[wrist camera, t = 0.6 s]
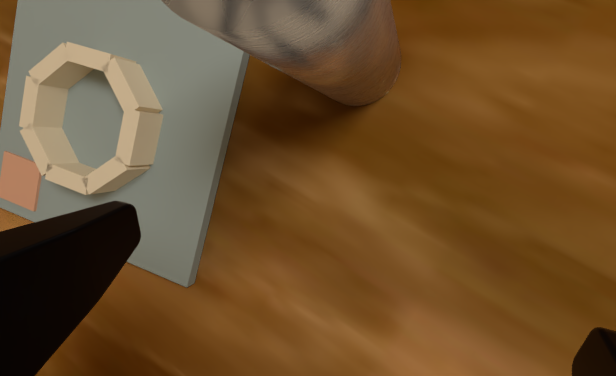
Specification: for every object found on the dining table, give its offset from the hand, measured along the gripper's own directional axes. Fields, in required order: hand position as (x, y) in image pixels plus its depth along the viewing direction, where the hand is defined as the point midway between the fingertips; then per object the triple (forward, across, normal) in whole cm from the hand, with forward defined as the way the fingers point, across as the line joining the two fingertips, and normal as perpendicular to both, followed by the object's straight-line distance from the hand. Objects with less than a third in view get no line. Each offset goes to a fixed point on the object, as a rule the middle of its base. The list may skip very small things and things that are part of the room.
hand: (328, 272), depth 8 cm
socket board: (+13, +18, +4) cm, 22 cm away
